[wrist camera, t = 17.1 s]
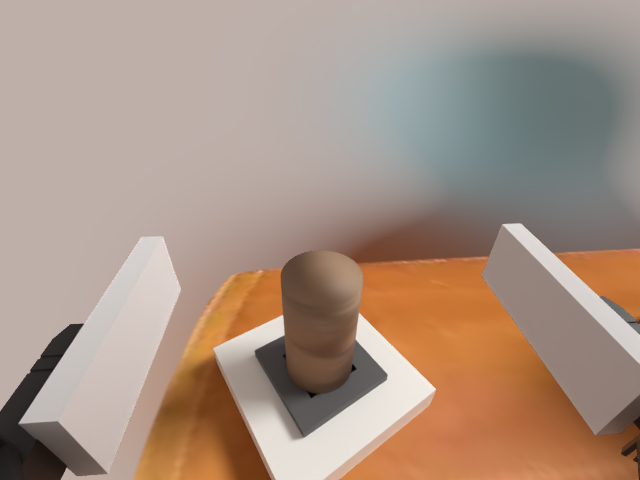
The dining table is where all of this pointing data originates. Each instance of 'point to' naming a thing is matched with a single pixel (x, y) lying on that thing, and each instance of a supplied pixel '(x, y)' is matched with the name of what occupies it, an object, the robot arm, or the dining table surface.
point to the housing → (320, 403)
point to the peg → (320, 318)
